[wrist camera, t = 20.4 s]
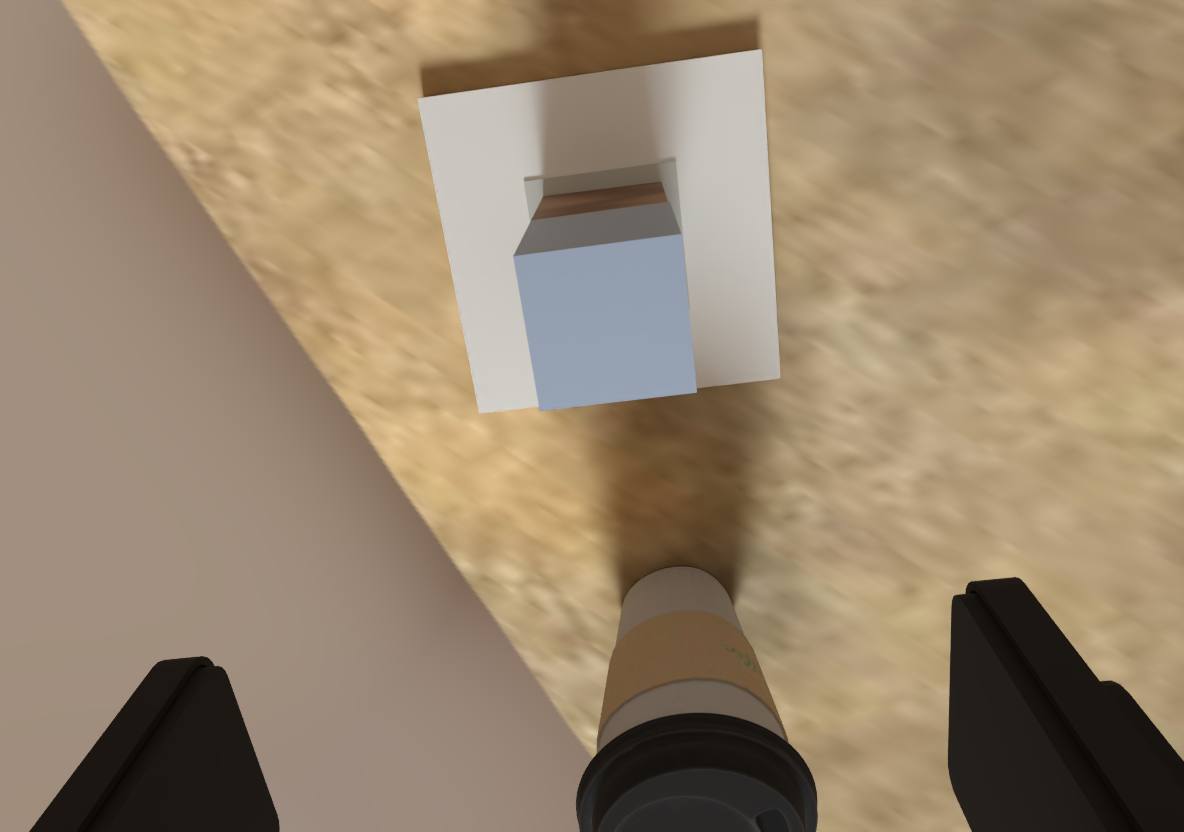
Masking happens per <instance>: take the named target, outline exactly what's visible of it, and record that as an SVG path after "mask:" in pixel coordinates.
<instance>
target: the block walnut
mask: <svg viewBox="0 0 1184 832" xmlns="http://www.w3.org/2000/svg"><path fill="white" fill-rule="evenodd" d="M663 202H668V200H667V197H666V194H665V191H664V188H663V185H662V182H654V183H646V184H638V185H630V186H622V187H614V188H606V189H598V190H590V191H581V192H573V193H565V194H557V195H549V196H543V197H542V199H541V201H540V203H539V205H538V207H537V209H536V211H535V213H534V215H533V217H532V219H531V220H537V219H545V218H552V217H559V216H567V215H574V214H582V213H589V212H597V211H604V210H611V209H619V208H626V207H634V206H641V205H649V204H656V203H663ZM530 222H531V221H530Z"/></svg>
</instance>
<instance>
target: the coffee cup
mask: <svg viewBox="0 0 1184 832" xmlns="http://www.w3.org/2000/svg"><path fill="white" fill-rule="evenodd" d="M576 810H577V819H578V823H579V828H580V832H816V828H817V819H818V813H817V791H816V786H815V782H814V779H813V776H812V774H811V772H810V770H809V768H808V766H807V764H806V763H805V761H804V760H803V758H802V757H801V756H800V755H799V753H798V752H797V751H796V750H795V749H794V748H793V747H792V746H791V745H790V744H789V743H788V738H787V735H786V732H785V729H784V727H783V724H782V721H781V719H780V716H779V714H778V711H777V709H776V706H775V704H774V701H773V698H772V696H771V693H770V691H769V688H768V686H767V683H766V681H765V678H764V676H763V673H762V671H761V668H760V665H759V663H758V660H757V658H756V655H755V653H754V650H753V648H752V646H751V645H750V643H749V642H748V640H747V638H746V637H745V636H744V633H743V631H742V628H741V626H740V623H739V620H738V618H737V615H736V613H735V610H734V608H733V605H732V603H731V600H730V598H729V596H728V594H727V592H726V591H725V589H724V587H723V586H722V585H721V584H720V583H719V582H718V580H717V579H715V578H714V577H713V576H711V575H710V574H709V573H707V572H705V571H702V570H700V569H697V568H692V567H682V566H677V567H670V568H665V569H661V570H658V571H655V572H653V573H651V574H649V575H647V576H645V577H643V578H642V579H641V580H639V581H638V582H637V583H636V584H635V585H634V586H633V587H632V588H631V589H630V590H629V592H628V593H627V595H626V596H625V599H624V602H623V606H622V611H621V617H620V622H619V628H618V634H617V640H616V646H615V648H614V650H613V653H612V656H611V660H610V664H609V670H608V676H607V682H606V688H605V694H604V700H603V706H602V712H601V718H600V724H599V730H598V736H597V754H596V756H595V757H594V758H593V759H592V760H591V762H590V763H589V765H588V767H587V768H586V770H585V772H584V774H583V776H582V778H581V781H580V784H579V788H578V791H577V798H576Z"/></svg>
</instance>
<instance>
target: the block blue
mask: <svg viewBox="0 0 1184 832" xmlns="http://www.w3.org/2000/svg"><path fill="white" fill-rule="evenodd" d="M513 258H514V264H515V270H516V276H517V282H518V287H519V293H520V299H521V305H522V311H523V316H524V322H525V328H526V334H527V340H528V346H529V351H530V357H531V363H532V369H533V375H534V380H535V386H536V392H537V398H538V404H539V409H540V411H546V410H554V409H563V408H571V407H580V406H588V405H596V404H605V403H613V402H622V401H630V400H639V399H647V398H656V397H664V396H673V395H681V394H690V393H697V387H696V376H695V366H694V356H693V346H692V336H691V326H690V316H689V305H688V295H687V285H686V275H685V265H684V255H683V245H682V234H681V231H680V228H679V226H678V223H677V220H676V217H675V214H674V212H673V209H672V206H671V203H670V202H663V203H656V204H649V205H641V206H634V207H626V208H619V209H611V210H604V211H597V212H589V213H582V214H574V215H567V216H559V217H552V218H545V219H537V220H531V222H530V224H529V226H528V228H527V230H526V232H525V234H524V236H523V238H522V240H521V242H520V244H519V245H518V247H517V249H516V251H515V253H514V255H513Z"/></svg>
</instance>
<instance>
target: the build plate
mask: <svg viewBox="0 0 1184 832" xmlns="http://www.w3.org/2000/svg"><path fill="white" fill-rule="evenodd" d="M417 100H418V105H419V110H420V115H421V120H422V125H423V130H424V135H425V140H426V145H427V150H428V156H429V161H430V166H431V171H432V176H433V181H434V186H435V191H436V196H437V201H438V206H439V211H440V216H441V222H442V227H443V232H444V237H445V242H446V247H447V252H448V257H449V262H450V267H451V272H452V277H453V282H454V288H455V293H456V298H457V303H458V308H459V313H460V318H461V323H462V328H463V333H464V338H465V343H466V348H467V353H468V359H469V364H470V369H471V374H472V379H473V384H474V389H475V394H476V399H477V404H478V409H479V413H488V412H496V411H505V410H514V409H522V408H531V407H539V404H538V398H537V392H536V386H535V380H534V375H533V369H532V363H531V357H530V351H529V346H528V340H527V334H526V328H525V322H524V316H523V311H522V305H521V299H520V293H519V287H518V282H517V276H516V270H515V264H514V258H513V255H514V253H515V251H516V249H517V247H518V245H519V244H520V242H521V240H522V238H523V236H524V234H525V232H526V230H527V228H528V226H529V224H530V221H531V219H532V217H533V215H534V213H535V211H536V209H537V207H538V205H539V203H540V201H541V199H542V197H543V196H549V195H557V194H565V193H573V192H581V191H590V190H598V189H606V188H614V187H622V186H630V185H638V184H646V183H654V182H662V185H663V188H664V191H665V194H666V197H667V200H668V202H670V203H671V206H672V209H673V212H674V214H675V217H676V220H677V223H678V226H679V228H680V231H681V234H682V245H683V255H684V265H685V275H686V285H687V295H688V305H689V316H690V326H691V336H692V346H693V356H694V366H695V376H696V387H697V388H704V387H712V386H721V385H730V384H738V383H747V382H756V381H764V380H773V379H780V361H779V343H778V326H777V308H776V290H775V273H774V255H773V237H772V220H771V202H770V184H769V167H768V149H767V131H766V114H765V96H764V78H763V61H762V49H756V50H749V51H742V52H735V53H728V54H721V55H714V56H707V57H700V58H693V59H686V60H679V61H672V62H665V63H658V64H651V65H644V66H637V67H630V68H623V69H616V70H609V71H603V72H596V73H589V74H582V75H575V76H568V77H561V78H554V79H547V80H540V81H533V82H526V83H519V84H512V85H505V86H498V87H491V88H484V89H477V90H470V91H463V92H456V93H449V94H442V95H435V96H428V97H422V98H418V99H417Z"/></svg>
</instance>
